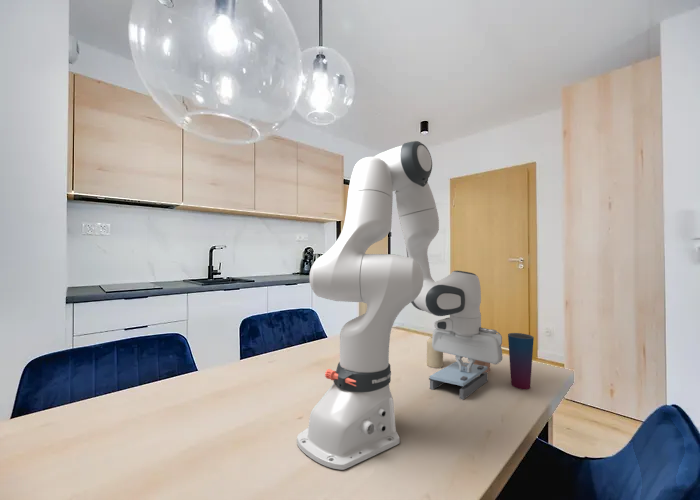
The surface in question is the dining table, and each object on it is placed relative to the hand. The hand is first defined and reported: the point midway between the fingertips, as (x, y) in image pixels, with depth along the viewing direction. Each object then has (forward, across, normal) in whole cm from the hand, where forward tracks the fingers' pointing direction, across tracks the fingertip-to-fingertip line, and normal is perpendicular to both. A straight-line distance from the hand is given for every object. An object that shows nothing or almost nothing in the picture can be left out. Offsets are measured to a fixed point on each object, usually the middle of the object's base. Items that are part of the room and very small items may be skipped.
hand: (465, 371), depth 95 cm
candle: (+4, +15, -10) cm, 18 cm away
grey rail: (+4, +2, 0) cm, 5 cm away
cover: (+1, +2, 0) cm, 2 cm away
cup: (+5, -12, -12) cm, 17 cm away
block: (+5, +2, -16) cm, 17 cm away
